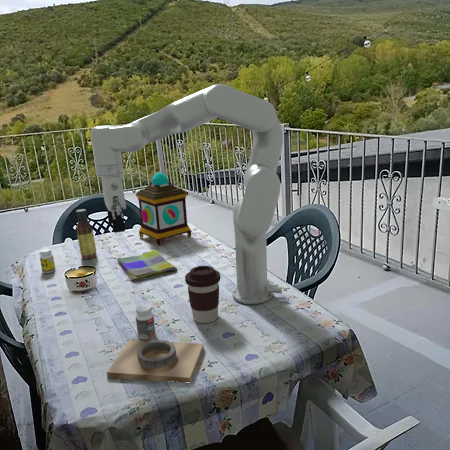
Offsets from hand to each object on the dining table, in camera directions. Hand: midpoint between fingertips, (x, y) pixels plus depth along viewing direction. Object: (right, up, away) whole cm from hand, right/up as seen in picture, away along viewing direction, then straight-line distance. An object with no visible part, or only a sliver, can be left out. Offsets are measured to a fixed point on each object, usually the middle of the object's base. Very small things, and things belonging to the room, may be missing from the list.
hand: (116, 227), depth 132 cm
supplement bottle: (-35, -17, +39) cm, 55 cm away
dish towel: (+2, -16, +38) cm, 41 cm away
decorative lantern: (+5, -5, +70) cm, 71 cm away
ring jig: (+16, -33, -23) cm, 43 cm away
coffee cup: (+26, -26, -2) cm, 37 cm away
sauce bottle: (-24, -13, +51) cm, 58 cm away
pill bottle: (+11, -30, -10) cm, 33 cm away
